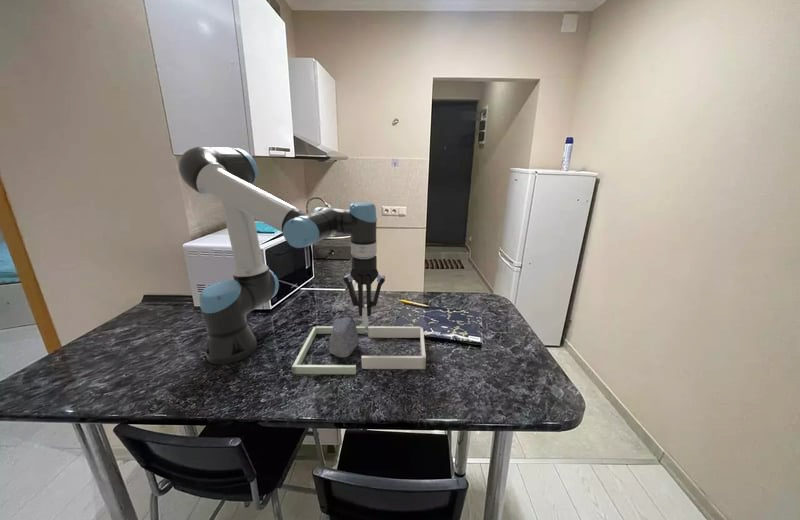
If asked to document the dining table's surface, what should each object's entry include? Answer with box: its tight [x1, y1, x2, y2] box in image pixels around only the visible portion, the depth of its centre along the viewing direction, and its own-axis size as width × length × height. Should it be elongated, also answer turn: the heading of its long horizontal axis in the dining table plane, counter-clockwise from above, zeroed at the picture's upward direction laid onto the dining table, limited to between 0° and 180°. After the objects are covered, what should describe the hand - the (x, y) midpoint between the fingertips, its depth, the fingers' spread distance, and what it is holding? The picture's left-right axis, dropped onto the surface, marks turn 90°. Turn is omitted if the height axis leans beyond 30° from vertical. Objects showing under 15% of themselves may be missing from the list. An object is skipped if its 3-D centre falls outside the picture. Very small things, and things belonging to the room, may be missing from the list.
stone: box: [328, 315, 360, 358], centre depth 101 cm, size 12×10×10 cm
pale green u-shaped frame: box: [291, 325, 366, 375], centre depth 102 cm, size 19×23×2 cm
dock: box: [360, 325, 427, 370], centre depth 101 cm, size 20×18×4 cm
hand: (365, 324), depth 99 cm, fingers closed
